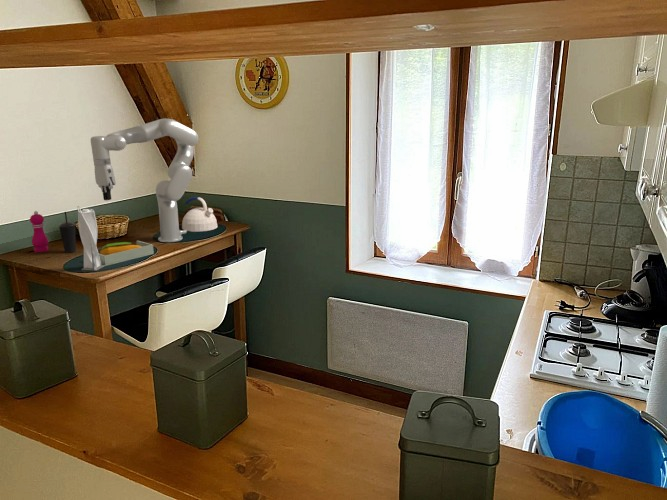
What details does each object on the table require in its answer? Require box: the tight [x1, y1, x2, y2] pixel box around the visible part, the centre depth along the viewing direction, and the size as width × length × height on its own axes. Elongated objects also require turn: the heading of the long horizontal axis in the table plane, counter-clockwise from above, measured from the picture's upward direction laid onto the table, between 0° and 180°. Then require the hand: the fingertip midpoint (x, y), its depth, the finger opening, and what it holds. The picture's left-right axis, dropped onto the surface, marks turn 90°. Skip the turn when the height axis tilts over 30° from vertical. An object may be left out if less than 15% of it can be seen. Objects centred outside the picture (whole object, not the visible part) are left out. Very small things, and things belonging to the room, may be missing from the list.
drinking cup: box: [57, 211, 77, 254], centre depth 272 cm, size 8×8×20 cm
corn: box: [99, 241, 141, 255], centre depth 265 cm, size 7×8×20 cm
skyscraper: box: [76, 205, 106, 272], centre depth 246 cm, size 8×8×28 cm
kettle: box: [181, 196, 218, 233], centre depth 323 cm, size 20×21×18 cm
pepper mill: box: [29, 210, 49, 253], centre depth 274 cm, size 7×7×20 cm
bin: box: [99, 240, 155, 267], centre depth 265 cm, size 25×13×5 cm, turn 142°
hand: (107, 199), depth 273 cm, fingers closed
